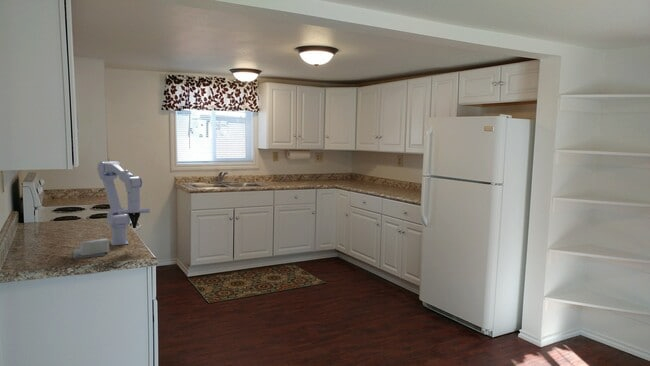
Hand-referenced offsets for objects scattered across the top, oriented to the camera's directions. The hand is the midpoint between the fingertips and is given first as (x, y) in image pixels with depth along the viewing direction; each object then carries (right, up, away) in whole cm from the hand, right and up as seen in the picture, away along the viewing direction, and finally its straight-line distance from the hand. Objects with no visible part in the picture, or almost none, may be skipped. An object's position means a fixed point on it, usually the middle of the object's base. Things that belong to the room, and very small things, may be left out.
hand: (134, 227), depth 231 cm
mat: (-17, -11, -10) cm, 23 cm away
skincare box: (-10, -8, -8) cm, 15 cm away
